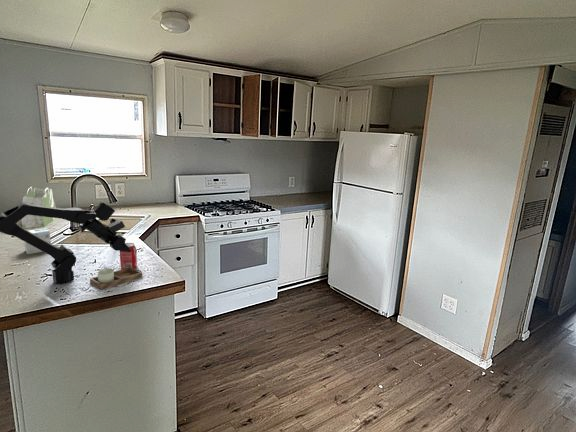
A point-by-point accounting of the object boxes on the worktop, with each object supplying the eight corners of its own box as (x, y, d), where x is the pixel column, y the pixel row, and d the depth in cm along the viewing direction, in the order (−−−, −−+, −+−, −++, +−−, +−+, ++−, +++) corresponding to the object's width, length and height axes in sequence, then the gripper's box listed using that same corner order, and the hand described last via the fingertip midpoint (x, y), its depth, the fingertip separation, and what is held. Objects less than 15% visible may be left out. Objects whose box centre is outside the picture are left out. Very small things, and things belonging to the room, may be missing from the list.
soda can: (132, 265, 171) (131, 241, 168) (140, 269, 166) (139, 244, 164) (117, 269, 165) (116, 244, 163) (125, 273, 161) (123, 248, 158)
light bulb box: (49, 247, 189) (47, 227, 187) (52, 250, 185) (50, 230, 182) (24, 251, 182) (22, 230, 179) (27, 254, 177) (24, 234, 175)
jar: (103, 287, 144) (102, 274, 143) (95, 283, 147) (94, 270, 146) (117, 283, 149) (116, 270, 147) (109, 279, 152) (108, 266, 151)
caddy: (102, 292, 142) (101, 285, 141) (90, 285, 147) (89, 278, 147) (142, 279, 156) (142, 272, 155) (130, 273, 161) (129, 267, 161)
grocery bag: (47, 227, 225) (43, 190, 220) (20, 228, 220) (16, 191, 215) (59, 215, 254) (56, 183, 249) (36, 216, 249) (33, 183, 244)
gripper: (119, 219, 149) (146, 239, 159) (105, 210, 162) (131, 230, 172) (100, 240, 146) (129, 260, 156) (87, 229, 159) (115, 248, 169)
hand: (126, 248), depth 163 cm, fingers open, 9 cm apart
